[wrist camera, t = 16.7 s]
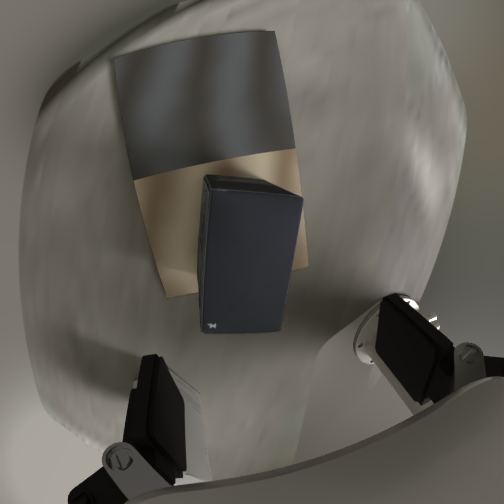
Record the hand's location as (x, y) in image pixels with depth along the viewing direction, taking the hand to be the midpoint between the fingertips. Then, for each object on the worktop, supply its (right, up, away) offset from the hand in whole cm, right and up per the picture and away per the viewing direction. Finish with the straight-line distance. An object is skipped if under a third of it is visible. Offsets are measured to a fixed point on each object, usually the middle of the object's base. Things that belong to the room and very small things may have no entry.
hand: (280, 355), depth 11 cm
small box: (-3, +7, +17) cm, 19 cm away
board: (-5, +13, +16) cm, 21 cm away
